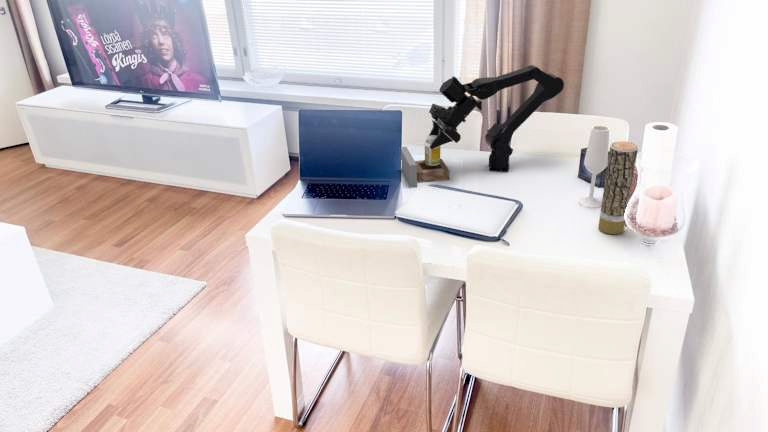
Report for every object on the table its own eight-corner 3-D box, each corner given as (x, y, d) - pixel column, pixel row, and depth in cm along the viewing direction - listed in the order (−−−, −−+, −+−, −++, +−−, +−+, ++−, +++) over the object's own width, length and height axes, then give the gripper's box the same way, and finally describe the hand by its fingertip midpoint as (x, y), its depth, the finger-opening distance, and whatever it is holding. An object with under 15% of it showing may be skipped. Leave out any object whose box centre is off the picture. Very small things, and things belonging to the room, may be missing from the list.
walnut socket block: (441, 169, 210) (441, 158, 208) (449, 180, 200) (449, 169, 198) (411, 171, 208) (411, 161, 206) (417, 183, 198) (417, 172, 197)
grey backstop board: (406, 167, 211) (406, 146, 207) (417, 187, 195) (416, 164, 191) (400, 168, 211) (399, 147, 207) (410, 187, 195) (409, 165, 191)
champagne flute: (591, 196, 184) (602, 123, 173) (606, 205, 178) (617, 129, 167) (574, 200, 182) (583, 126, 171) (588, 209, 176) (598, 133, 165)
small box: (576, 177, 198) (579, 148, 193) (591, 173, 200) (594, 144, 196) (598, 188, 189) (603, 158, 185) (613, 184, 192) (618, 154, 187)
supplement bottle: (422, 165, 201) (422, 138, 197) (428, 159, 205) (427, 133, 201) (437, 167, 199) (437, 140, 194) (442, 161, 203) (442, 135, 199)
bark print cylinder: (625, 236, 160) (640, 150, 149) (599, 234, 162) (612, 149, 151) (621, 224, 166) (635, 141, 155) (596, 223, 168) (608, 140, 157)
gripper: (437, 88, 200) (406, 122, 204) (451, 103, 184) (417, 139, 187) (459, 109, 205) (428, 141, 208) (474, 125, 188) (441, 160, 192)
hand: (428, 145), depth 199 cm, fingers closed on supplement bottle, 5 cm apart
